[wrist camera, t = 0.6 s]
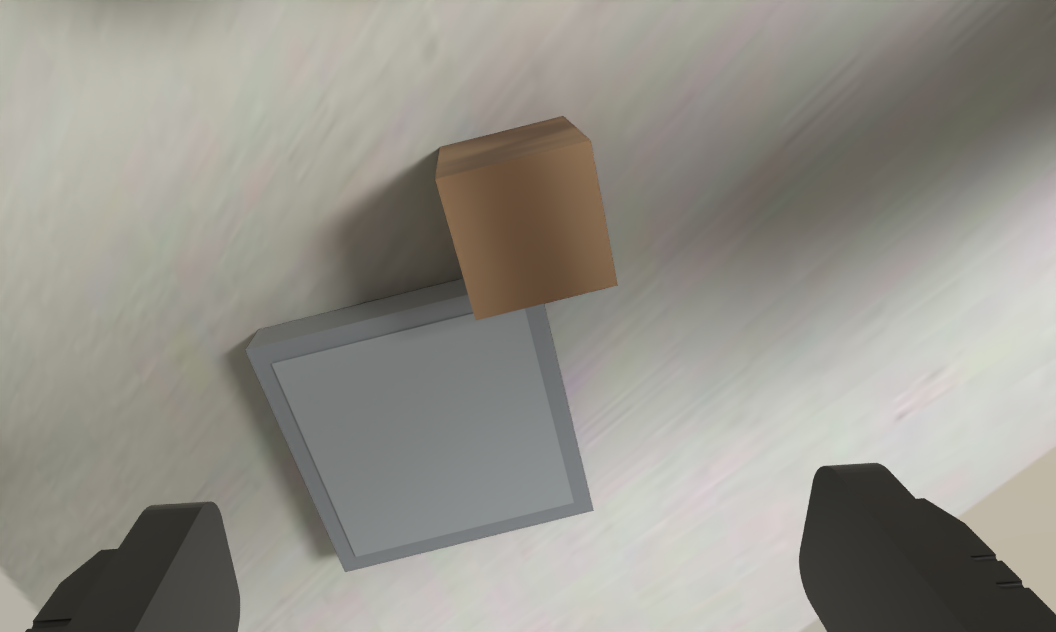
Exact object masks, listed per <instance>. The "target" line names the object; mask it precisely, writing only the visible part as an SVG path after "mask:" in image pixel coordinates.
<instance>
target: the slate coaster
mask: <svg viewBox="0 0 1056 632" xmlns="http://www.w3.org/2000/svg"><path fill="white" fill-rule="evenodd" d="M245 351H246V353H247V356H248V358H249V360H250V362H251V365H252V367H253V369H254V371H255V373H256V376H257V378H258V380H259V382H260V384H261V387H262V389H263V391H264V393H265V396H266V398H267V400H268V402H269V404H270V407H271V409H272V411H273V413H274V416H275V418H276V420H277V422H278V424H279V427H280V429H281V431H282V433H283V435H284V438H285V440H286V442H287V444H288V447H289V449H290V451H291V453H292V455H293V458H294V460H295V462H296V464H297V467H298V469H299V471H300V473H301V475H302V478H303V480H304V482H305V484H306V487H307V489H308V491H309V493H310V495H311V498H312V500H313V502H314V504H315V506H316V509H317V511H318V513H319V515H320V518H321V520H322V522H323V524H324V526H325V529H326V531H327V533H328V535H329V538H330V540H331V542H332V544H333V546H334V549H335V551H336V553H337V555H338V557H339V560H340V562H341V564H342V566H343V569H344V571H345V572H348V571H352V570H356V569H360V568H364V567H368V566H372V565H376V564H380V563H384V562H388V561H392V560H396V559H400V558H404V557H408V556H412V555H417V554H421V553H425V552H429V551H433V550H437V549H441V548H445V547H449V546H453V545H457V544H461V543H465V542H469V541H473V540H477V539H481V538H485V537H489V536H493V535H497V534H501V533H505V532H509V531H513V530H517V529H521V528H525V527H529V526H533V525H537V524H541V523H545V522H549V521H554V520H558V519H562V518H566V517H570V516H574V515H578V514H582V513H586V512H590V511H594V510H593V506H592V502H591V498H590V494H589V489H588V485H587V481H586V477H585V473H584V469H583V464H582V460H581V456H580V452H579V448H578V443H577V439H576V435H575V431H574V427H573V423H572V418H571V414H570V410H569V406H568V402H567V398H566V393H565V389H564V385H563V381H562V377H561V372H560V368H559V364H558V360H557V356H556V352H555V347H554V343H553V339H552V335H551V331H550V327H549V322H548V318H547V314H546V310H545V306H544V304H541V305H536V306H532V307H528V308H524V309H520V310H516V311H512V312H508V313H504V314H500V315H496V316H492V317H488V318H484V319H480V320H475V317H474V313H473V310H472V306H471V303H470V299H469V296H468V292H467V289H466V285H465V282H464V278H463V279H459V280H455V281H451V282H447V283H443V284H439V285H435V286H431V287H427V288H423V289H419V290H415V291H411V292H407V293H403V294H399V295H395V296H391V297H387V298H383V299H379V300H375V301H371V302H367V303H363V304H359V305H355V306H351V307H347V308H343V309H339V310H335V311H331V312H327V313H323V314H319V315H315V316H311V317H307V318H303V319H299V320H295V321H291V322H287V323H283V324H279V325H275V326H271V327H267V328H263V329H259V330H258V331H257V333H256V334H255V336H254V337H253V339H252V340H251V342H250V344H249V345H248V347H247V348H246V350H245Z"/></svg>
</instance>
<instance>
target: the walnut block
mask: <svg viewBox="0 0 1056 632" xmlns="http://www.w3.org/2000/svg"><path fill="white" fill-rule="evenodd" d="M435 181H436V185H437V188H438V191H439V195H440V198H441V202H442V205H443V209H444V212H445V216H446V219H447V223H448V226H449V230H450V233H451V237H452V240H453V244H454V247H455V251H456V254H457V257H458V261H459V264H460V268H461V271H462V275H463V278H464V282H465V285H466V289H467V292H468V296H469V299H470V303H471V306H472V310H473V313H474V317H475V320H480V319H484V318H488V317H492V316H496V315H500V314H504V313H508V312H512V311H516V310H520V309H524V308H528V307H532V306H536V305H541V304H545V303H549V302H553V301H557V300H561V299H565V298H569V297H573V296H577V295H581V294H585V293H589V292H593V291H597V290H601V289H605V288H609V287H613V286H617V279H616V274H615V269H614V263H613V258H612V253H611V247H610V242H609V237H608V231H607V226H606V221H605V215H604V210H603V205H602V199H601V194H600V189H599V184H598V178H597V173H596V168H595V162H594V157H593V152H592V146H591V141H590V139H588V138H587V137H586V136H585V135H584V134H583V133H582V132H581V131H579V130H578V129H577V128H576V127H575V126H574V125H573V124H572V123H571V122H569V121H568V120H567V119H566V118H565V117H564V116H562V117H558V118H554V119H550V120H546V121H542V122H538V123H534V124H530V125H526V126H522V127H518V128H514V129H510V130H506V131H502V132H498V133H494V134H490V135H486V136H482V137H478V138H474V139H470V140H466V141H462V142H458V143H454V144H450V145H446V146H442V147H440V149H439V155H438V162H437V169H436V176H435Z"/></svg>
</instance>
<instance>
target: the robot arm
mask: <svg viewBox="0 0 1056 632" xmlns="http://www.w3.org/2000/svg"><path fill="white" fill-rule="evenodd" d="M799 567H800V574H801V579H802V583H803V587H804V590H805V593H806V595H807V597H808V599H809V601H810V603H811V605H812V607H813V608H814V610H815V612H816V613H817V615H818V617H819V618H820V620H821V622H822V624H823V625H824V627H825V629H826V630H827V632H1056V615H1055V613H1054V612H1053V611H1052V610H1051V609H1050V608H1049V607H1048V606H1047V605H1046V604H1045V603H1044V602H1043V601H1042V600H1041V599H1040V598H1039V597H1038V596H1037V595H1036V594H1035V593H1034V592H1033V591H1032V590H1031V589H1030V588H1024V587H1023V585H1022V580H1021V579H1020V578H1019V577H1018V576H1017V575H1016V574H1015V573H1014V572H1013V571H1012V570H1011V569H1010V568H1009V567H1008V566H1007V565H1006V564H1005V563H1004V562H1003V561H997V559H996V554H995V553H994V552H993V551H992V550H991V549H990V548H989V547H988V546H987V545H986V544H985V543H984V542H983V541H982V540H981V539H980V538H979V537H978V536H977V535H976V534H975V533H974V532H973V531H972V530H971V529H970V528H969V527H968V526H967V525H966V524H965V523H963V522H962V521H960V520H959V519H957V518H955V517H954V516H952V515H950V514H949V513H947V512H946V511H944V510H942V509H941V508H939V507H937V506H936V505H934V504H933V503H931V502H929V501H928V500H926V499H924V498H921V499H915V497H914V496H913V495H912V494H911V493H910V492H909V491H908V490H907V489H906V488H905V487H904V486H903V485H902V484H901V483H900V482H899V481H898V479H897V478H896V477H895V476H894V475H893V474H892V473H891V472H890V471H889V470H888V469H887V468H886V467H885V466H883V465H881V464H878V463H865V464H849V465H832V466H822V467H820V468H819V469H818V470H817V472H816V474H815V476H814V479H813V484H812V489H811V494H810V500H809V505H808V510H807V516H806V521H805V526H804V532H803V537H802V542H801V548H800V554H799ZM239 618H240V595H239V589H238V584H237V580H236V576H235V572H234V567H233V563H232V559H231V555H230V550H229V546H228V542H227V538H226V533H225V529H224V525H223V521H222V516H221V513H220V510H219V508H218V506H217V505H216V504H215V503H214V502H197V503H181V504H164V505H152V506H149V507H147V508H146V509H145V510H144V511H143V512H142V514H141V515H140V516H139V518H138V519H137V521H136V522H135V524H134V525H133V527H132V528H131V530H130V532H129V533H128V535H127V536H126V538H125V539H124V541H123V542H122V544H121V545H120V547H119V548H118V549H110V550H101V551H99V552H98V553H97V554H96V555H94V556H93V557H92V558H91V559H90V560H88V561H87V562H86V563H85V564H83V565H82V566H81V567H80V568H78V569H77V570H76V571H75V572H73V573H72V574H71V575H70V576H69V577H67V578H66V579H65V580H64V581H62V582H61V583H60V584H59V586H58V587H57V589H56V590H55V591H54V593H53V594H52V596H51V597H50V598H49V600H48V601H47V602H46V604H45V605H44V607H43V608H42V609H41V611H40V612H39V614H38V615H37V616H36V618H35V619H34V620H33V627H32V629H27V630H26V631H25V632H237V631H238V626H239Z"/></svg>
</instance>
